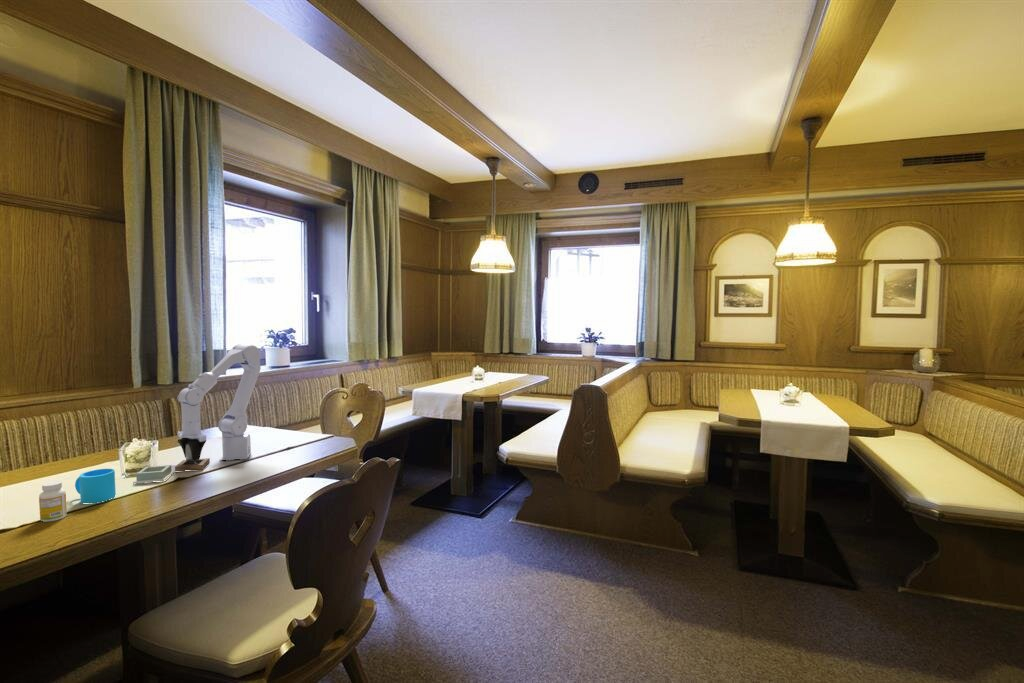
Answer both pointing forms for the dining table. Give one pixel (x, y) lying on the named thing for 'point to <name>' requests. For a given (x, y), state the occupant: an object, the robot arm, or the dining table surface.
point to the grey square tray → (153, 474)
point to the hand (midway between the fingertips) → (192, 458)
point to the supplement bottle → (52, 502)
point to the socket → (200, 466)
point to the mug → (96, 485)
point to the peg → (190, 456)
